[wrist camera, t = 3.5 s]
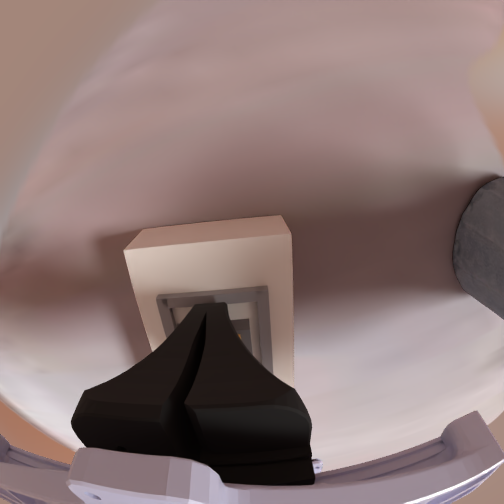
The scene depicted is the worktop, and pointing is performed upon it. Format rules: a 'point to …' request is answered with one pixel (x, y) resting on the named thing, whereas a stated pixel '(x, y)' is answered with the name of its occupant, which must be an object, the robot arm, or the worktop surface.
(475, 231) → the moka pot
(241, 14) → the worktop surface
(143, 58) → the worktop surface
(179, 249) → the power strip
